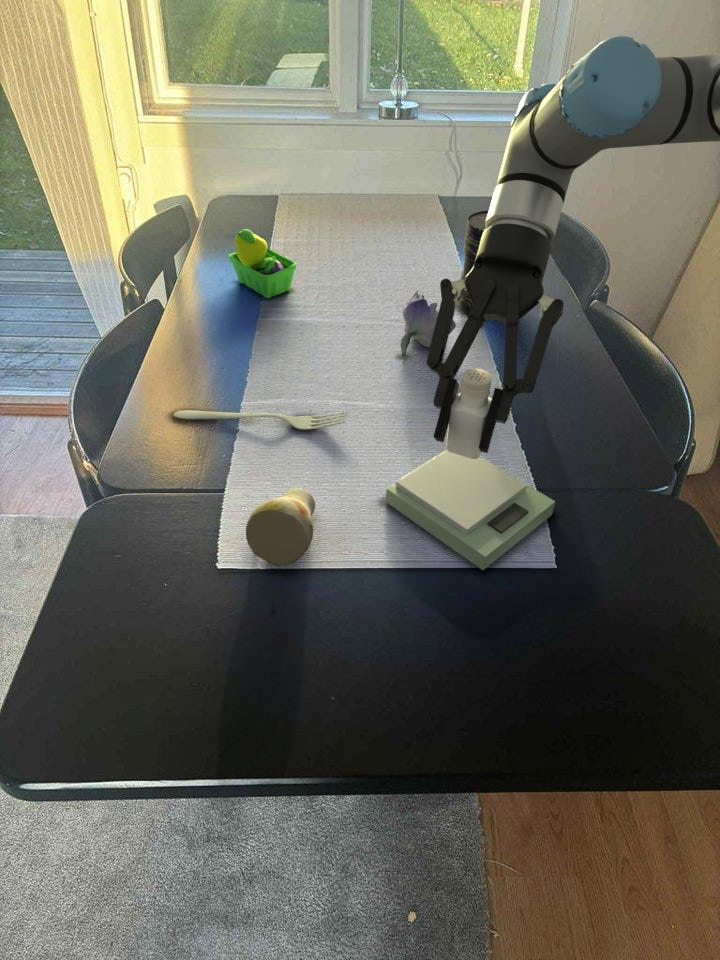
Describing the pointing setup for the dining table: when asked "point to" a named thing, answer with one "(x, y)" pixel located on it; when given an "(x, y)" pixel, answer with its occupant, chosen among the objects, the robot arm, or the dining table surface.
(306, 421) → the fork
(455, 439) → the pepper shaker
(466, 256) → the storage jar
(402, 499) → the scale
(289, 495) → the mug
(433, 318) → the flower
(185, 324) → the dining table surface
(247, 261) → the fruit basket
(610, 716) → the dining table surface
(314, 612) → the dining table surface
